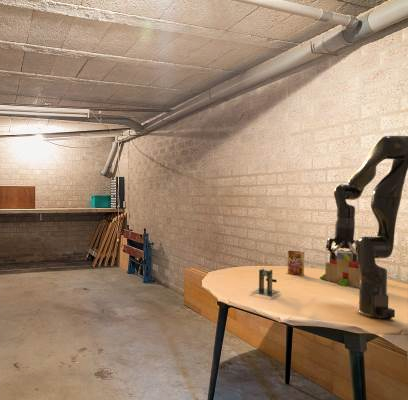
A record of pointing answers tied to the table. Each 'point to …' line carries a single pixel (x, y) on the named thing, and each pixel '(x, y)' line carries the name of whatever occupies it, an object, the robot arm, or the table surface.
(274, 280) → the lever
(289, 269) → the candy box
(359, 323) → the table surface
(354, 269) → the block set
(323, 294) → the table surface
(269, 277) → the bracket
